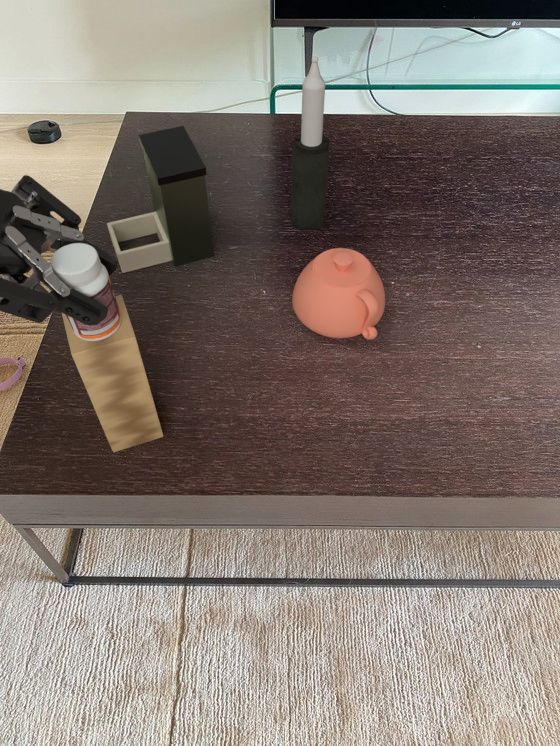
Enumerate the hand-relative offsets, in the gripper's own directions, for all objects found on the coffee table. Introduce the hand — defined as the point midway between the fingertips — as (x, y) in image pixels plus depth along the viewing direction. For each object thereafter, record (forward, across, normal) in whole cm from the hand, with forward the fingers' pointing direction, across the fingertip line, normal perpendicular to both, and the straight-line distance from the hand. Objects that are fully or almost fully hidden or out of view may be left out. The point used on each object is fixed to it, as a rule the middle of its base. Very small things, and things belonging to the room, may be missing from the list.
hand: (107, 293), depth 56 cm
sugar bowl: (+33, +16, -1) cm, 37 cm away
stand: (+14, 0, +17) cm, 22 cm away
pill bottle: (+2, 0, +4) cm, 5 cm away
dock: (+13, +31, +19) cm, 38 cm away
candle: (+31, +38, +1) cm, 48 cm away
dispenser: (+17, +33, +14) cm, 40 cm away
